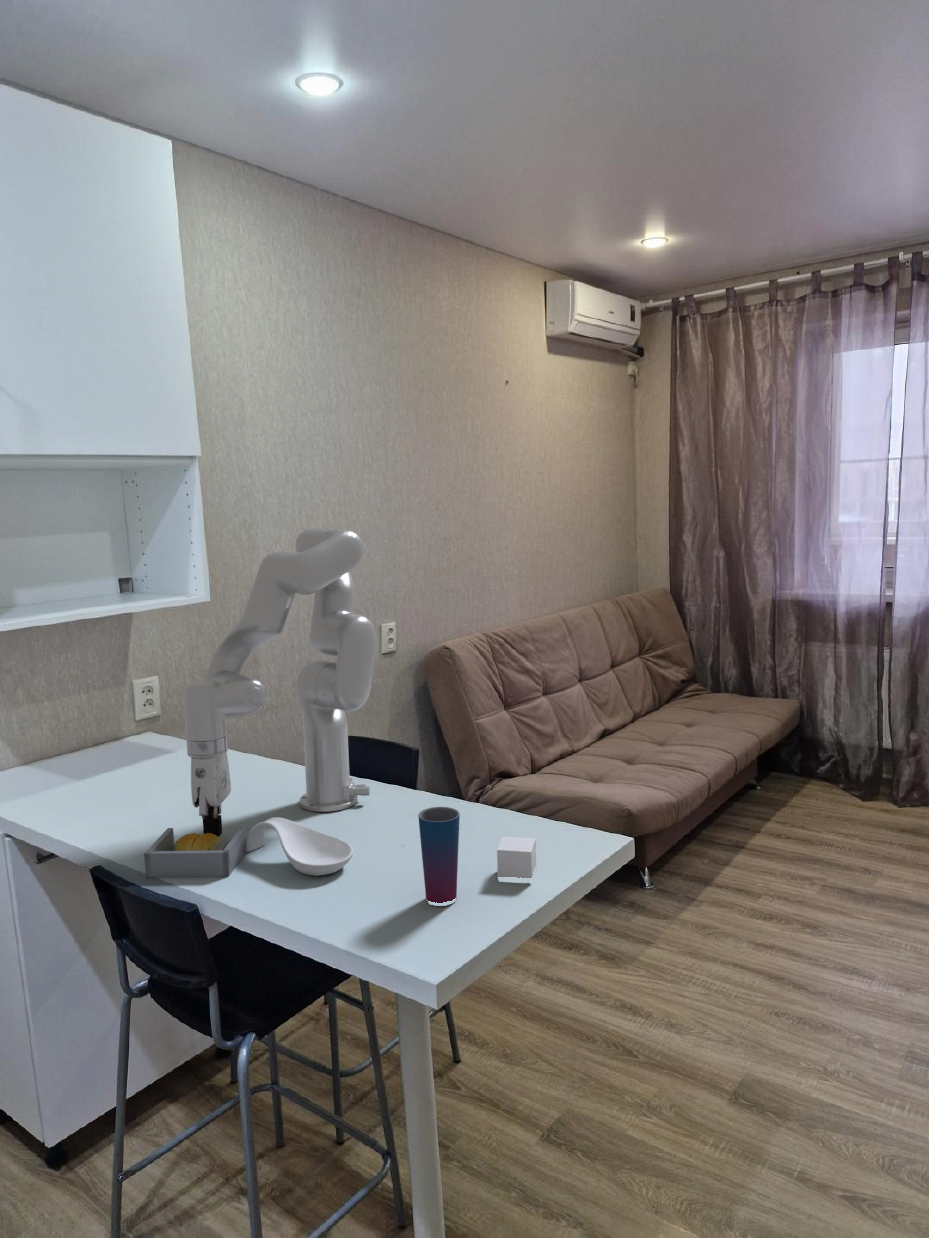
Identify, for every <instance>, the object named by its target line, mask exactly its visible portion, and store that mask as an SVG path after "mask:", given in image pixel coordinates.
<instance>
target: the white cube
mask: <svg viewBox="0 0 929 1238" xmlns="http://www.w3.org/2000/svg"><path fill="white" fill-rule="evenodd" d="M536 840H537V838H536V837H534V838H533V837H517V836H502V837H501V839H500V842H499V844H498V847H497V849H496V851H497V852H496V860H497V861H496V864H497V878H498V877H517V878H520V877H521V878H532V876H533V872H534V869H535V866H536V867H537V841H536Z"/></svg>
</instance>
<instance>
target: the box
mask: <svg viewBox="0 0 929 1238" xmlns="http://www.w3.org/2000/svg"><path fill="white" fill-rule="evenodd" d="M246 827H247V826H240V827H239V828H238V830H237V831H236V833H235V834H234V835H233V837H232V838H231V839H230V841H229V843H227V845H226V847H224V848H223V850H217V851H174V845H175V833H174V828H173V827H167V829H166V830H164V832H162V833H161V835H160V836H159V837H158V838H156V839H157V840H155V841H154V842H153V843H152V844H151V845H150V847H149V848H148V849H147V850H146V851H145V852H144V853H143V856H144V865H145V866H144V867H145V869H144V870H145V878H201V877H202V878H204V877H205V878H208V877H209V878H215V877H216V878H217V877H218V878H219V877H223V878H224V877H230V876H231V875H232V873H233V872H234V870H235V868H236V866H237V865H238V864H239V862H240V861H241V859H242V858H243V856H244V854H246V851H245V844H246V839H247V830H246V829H247V828H246Z"/></svg>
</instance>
